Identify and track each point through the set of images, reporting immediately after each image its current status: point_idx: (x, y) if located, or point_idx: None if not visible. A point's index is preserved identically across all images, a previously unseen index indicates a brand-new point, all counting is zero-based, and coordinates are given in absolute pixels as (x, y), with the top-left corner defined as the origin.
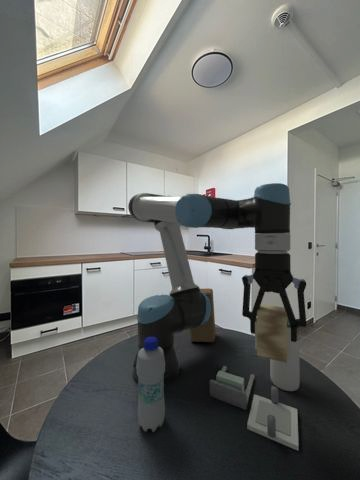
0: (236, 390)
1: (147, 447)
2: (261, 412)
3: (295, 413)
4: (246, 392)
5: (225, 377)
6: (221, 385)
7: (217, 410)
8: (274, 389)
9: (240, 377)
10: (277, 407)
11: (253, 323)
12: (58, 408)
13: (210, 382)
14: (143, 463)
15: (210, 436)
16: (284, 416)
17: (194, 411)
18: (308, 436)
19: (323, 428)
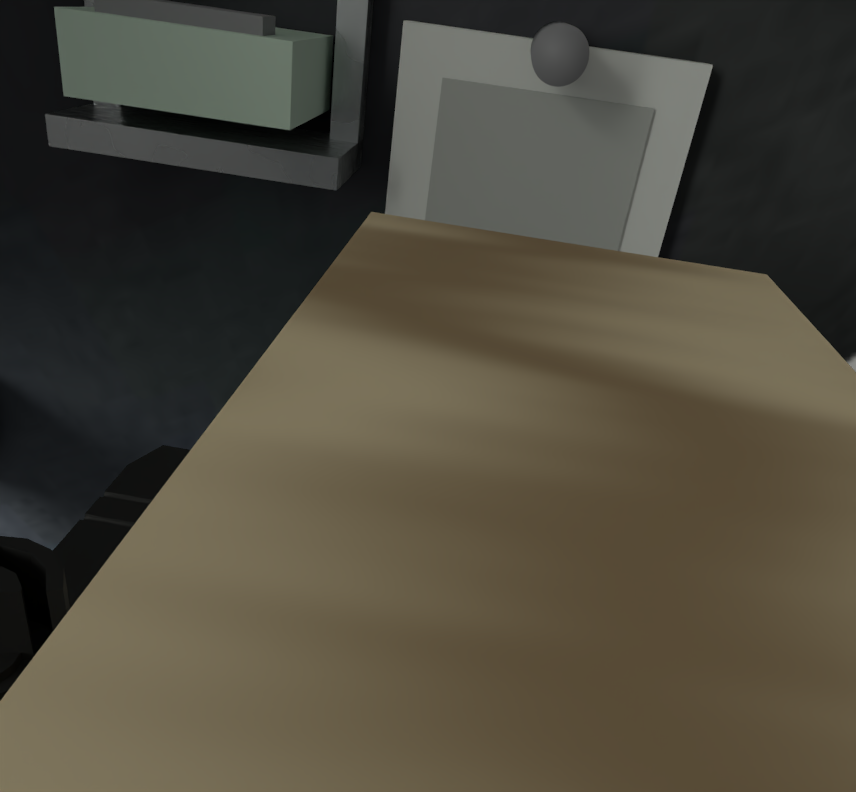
0: (264, 172)
1: (17, 500)
2: (454, 199)
3: (685, 115)
4: (337, 167)
5: (142, 94)
6: (146, 158)
7: (198, 230)
8: (556, 72)
9: (260, 42)
10: (566, 111)
11: None
12: None
13: (59, 145)
14: (46, 545)
15: (220, 390)
16: (600, 179)
17: (86, 282)
18: (714, 233)
19: (840, 139)
